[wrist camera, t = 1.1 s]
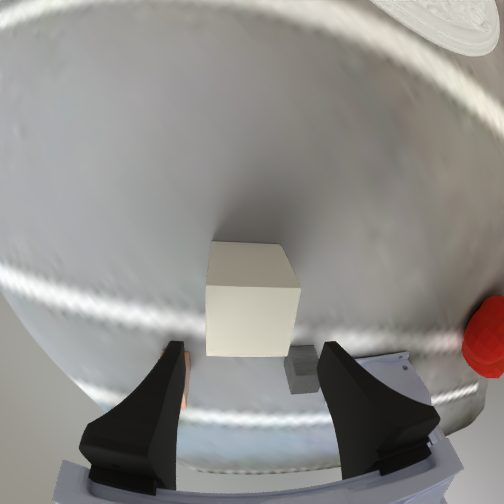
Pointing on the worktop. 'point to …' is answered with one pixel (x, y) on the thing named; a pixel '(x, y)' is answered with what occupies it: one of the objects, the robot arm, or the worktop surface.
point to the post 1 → (185, 395)
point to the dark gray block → (302, 369)
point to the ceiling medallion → (449, 22)
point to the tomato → (486, 338)
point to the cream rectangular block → (250, 300)
